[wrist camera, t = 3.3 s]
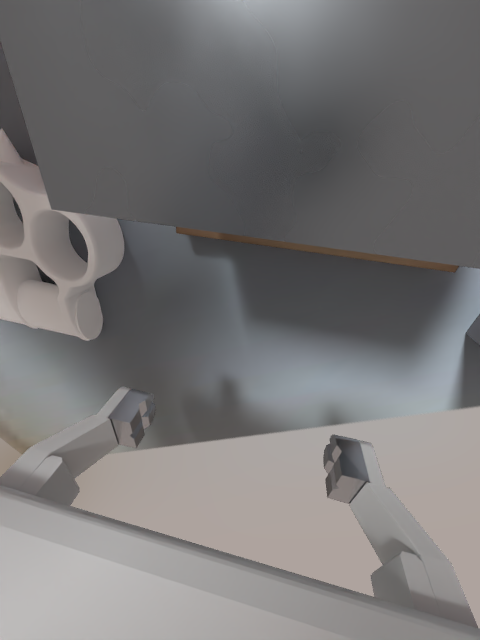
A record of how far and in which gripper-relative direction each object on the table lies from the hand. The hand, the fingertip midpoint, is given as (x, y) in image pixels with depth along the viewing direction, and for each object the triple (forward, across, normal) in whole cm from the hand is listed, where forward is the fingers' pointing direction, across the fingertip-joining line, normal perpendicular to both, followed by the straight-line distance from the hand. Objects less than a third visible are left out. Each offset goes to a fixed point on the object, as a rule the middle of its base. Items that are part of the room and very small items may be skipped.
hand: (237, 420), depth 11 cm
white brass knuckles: (+10, +20, -3) cm, 22 cm away
